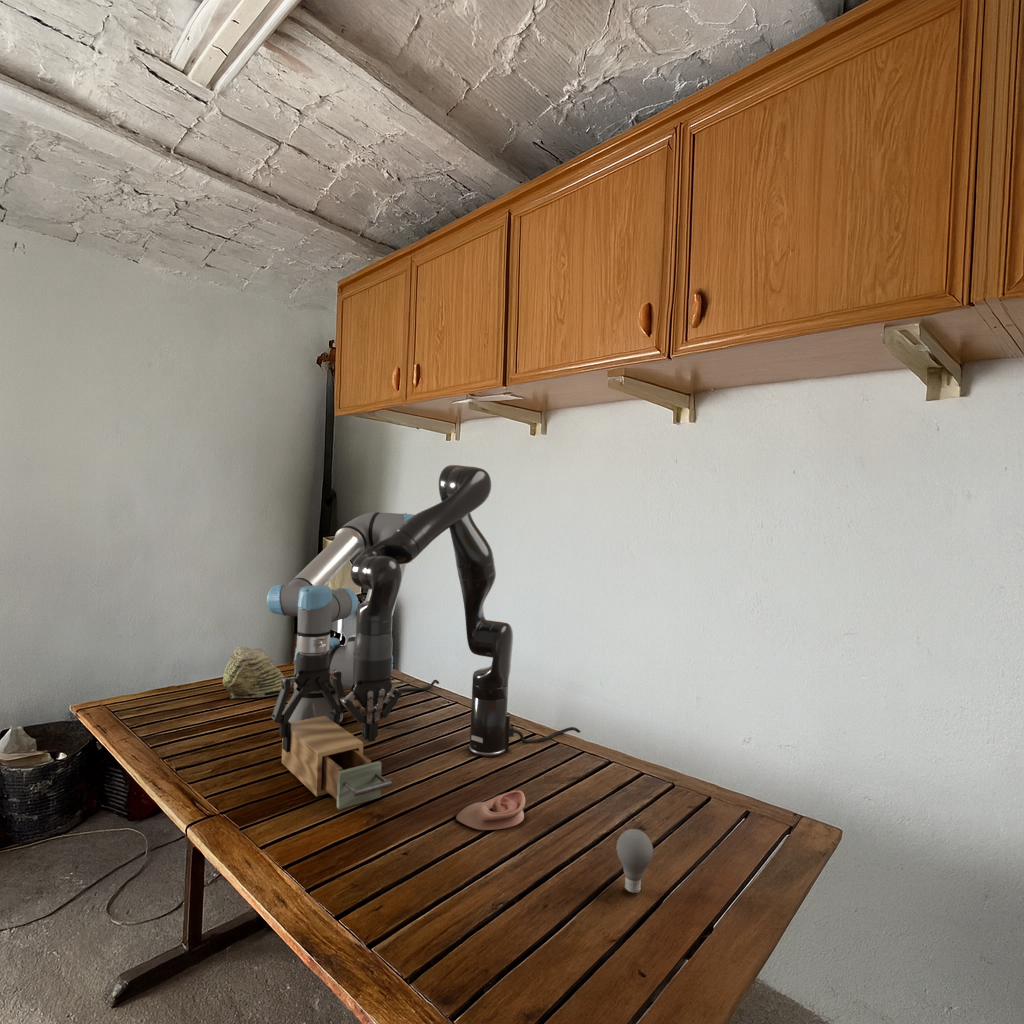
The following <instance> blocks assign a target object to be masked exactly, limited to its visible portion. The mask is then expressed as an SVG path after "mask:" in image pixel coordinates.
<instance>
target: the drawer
mask: <svg viewBox="0 0 1024 1024" xmlns="http://www.w3.org/2000/svg"><path fill="white" fill-rule="evenodd" d="M382 763H383V762H382V761H380V760H377V761H374V762H372V760H371V759H370V758H368V757H367V756H366V755H364V753H363V754H362V753H360V752H359V751H357V750H356V749H352V750H348V751H344V752H340V753H336V754H331V755H327V756H323V757H322V781H321V786H322V787H323V788H324V789H325V790H326V791H327V792H328V794H329V795H330V796H332V798H334V800H336V808H337V810H342V809H346V808H350V807H352V806H356V805H359V804H362V803H366V802H369V801H373V800H375V799H379V798H381V792H382V791H381V790H383V789H386V788H389V787H392V785H393V782H392V780H391V779H386V778H385V777H384V776H383V775H382V766H383V765H382Z"/></svg>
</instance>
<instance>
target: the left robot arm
mask: <svg viewBox="0 0 1024 1024" xmlns="http://www.w3.org/2000/svg"><path fill="white" fill-rule="evenodd" d="M414 515H415V514H413V513H407V512H404V513H398V512H397V513H396V512H395V513H394V512H378V511H371V512H366V513H364V514H361V515H358V516H356V517H354V518H353V519H351V520H350V521H348V522H346V523H345V524H343V526H342V527H340V528H339V529H338V530H337V531H336V533H335V535H334V539H333V540H331V542H329V544H328V545H326V547H325V548H323V550H321V552H320V553H318V555H316V557H314V558H313V559H312V560H311V561H310V562H309V563H308V564H307V565H306V566H305V567H304V568H303V569H302V570H301V571H300V572H299V573H298V574H297V575H295V576H294V578H293V579H292V580H291V581H290V582H289V583H287V584H286V585H285V584H276V585H273V586H272V587H271V588H270V589H269V590H268V593H267V596H266V605H267V609H268V610H269V612H271V613H272V614H276V615H281V616H284V617H286V616H290V617H297V633H296V647H295V652H294V653H295V654H294V659H293V660H294V672H293V676H290V677H286V676H284V677H283V678H282V680H281V684H282V687H281V690H280V693H279V694H278V695H277V699H276V702H275V705H274V708H273V711H272V714H271V716H270V719H271V720H272V721H273V722H274V723H276V724H278V723H279V725H278V726H279V727H278V728H279V729H278V734H279V736H280V737H281V738H283V749H284V750H285V751H286V752H290V737H291V723H290V722H295V721H300V720H305V719H311V718H316V717H321V716H326V717H328V718H329V719H330V720H332V721H333V722H335V723H336V724H338V725H339V726H340V725H342V723H343V722H344V714H343V712H346V711H347V710H346V708H345V707H344V706H343V705H342V703H341V702H340V698H341V697H346V693H345V691H350V692H351V687H352V685H353V662H354V654H353V651H354V642H355V636H356V632H355V633H353V634H352V635H350V636H348V638H347V642H346V645H341V641H340V639H339V638H337V637H331V626H332V625H331V624H332V623H333V622H336V621H341V620H345V619H347V618H348V617H351V616H352V615H354V614H355V613H356V612H357V608H358V606H359V599H358V596H357V594H356V593H355V592H354V590H352V589H351V588H348V587H344V588H343V587H338V588H336V589H332V588H331V587H330V586H327V585H328V584H330V583H331V581H332V580H334V578H335V577H336V576H337V575H338V574H339V573H340V571H342V570H343V568H344V567H346V565H347V564H348V563H349V562H350V561H351V560H352V559H353V558H354V557H358V556H359V555H360V554H361V553H362V552H364V551H365V550H367V549H368V548H370V547H372V546H373V545H375V544H377V543H378V542H380V541H382V540H384V539H386V538H388V537H389V536H390V535H391V534H392V533H393V532H394V531H396V530H397V529H398V528H399V527H400V526H401V525H402V524H403V523H404V522H405V521H407V520H408V519H409V518H411V517H412V516H414ZM412 562H413V561H411V562H409V563H406V564H399V565H400V567H401V571H402V581H401V583H403V579H404V575H405V571H406V567H407V565H408V564H410V563H412ZM401 586H402V584H401V585H400V587H401ZM400 589H401V588H400ZM400 589H399V592H398V596H399V593H400ZM367 590H368V591H367V594H366V597H365V600H364V602H366V601H369V599H370V596H371V592H372V589H367ZM398 596H397V599H396V603H395V606H394V609H393V612H392V617H393V616H394V611H395V608H396V604H397V600H398ZM393 662H394V656H393V655H392V670H393V668H394V664H393ZM435 683H436V684H437V685H439V684H440V681H439V680H438V679H433V680H432V682H431V683H430V684H429V685H431V686H429V685H427V686H423V687H404V688H396V689H397V690H399V691H401V693H402V692H419V691H420V692H421V691H426V690H429V689H431V688H433V686H434V685H435ZM292 687H293V693H292V694H291V695H292V696H291V697H290V699H289V696H290V692H291V688H292ZM288 699H289V700H288ZM287 701H288V702H287ZM354 706H355V707H356V708H357V710H359V709H360V704H356V705H354ZM347 712H348V711H347Z"/></svg>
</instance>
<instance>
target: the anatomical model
mask: <svg viewBox="0 0 1024 1024" xmlns="http://www.w3.org/2000/svg"><path fill="white" fill-rule="evenodd" d="M525 806H526V797H525V793H524V792H523V791H522V790H520V789H519V790H511V791H509V792H508V791H507V792H504V793H502V794H499V795H496V796H494V797H493V798H490V799H488V800H486V801H480V802H474V803H471V804H469V805H467V806H466V807H464V808H463V809H461V811H458V813H457V815H456V816H455V819H456V821H457V822H459V823H461V824H463V825H464V826H466V827H469V828H472V829H475V830H479V831H494V830H495V831H496V830H502V829H507V828H512V827H514V826H517V825H519V824H521V822H523V821H524V819H525V812H524V809H525Z"/></svg>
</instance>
